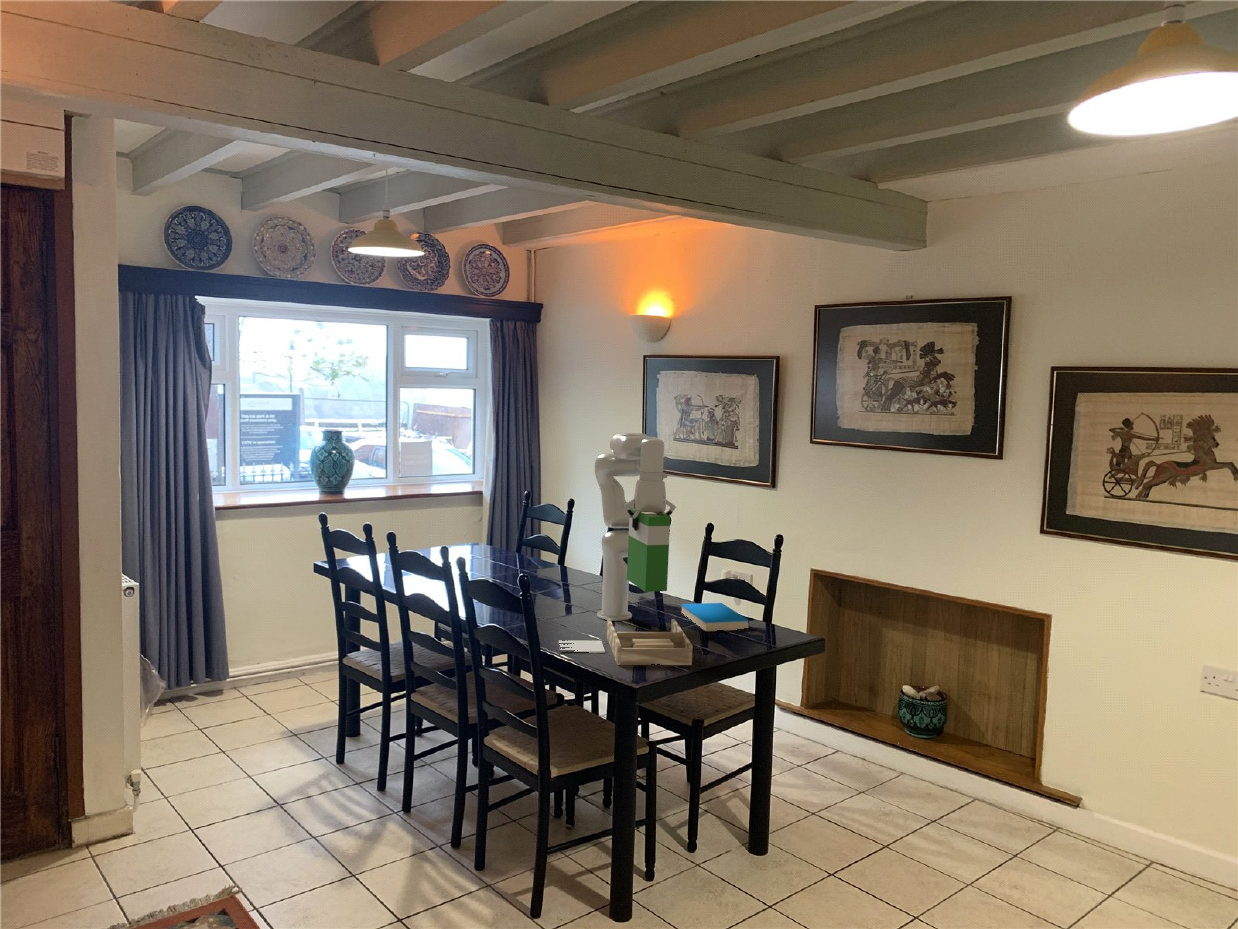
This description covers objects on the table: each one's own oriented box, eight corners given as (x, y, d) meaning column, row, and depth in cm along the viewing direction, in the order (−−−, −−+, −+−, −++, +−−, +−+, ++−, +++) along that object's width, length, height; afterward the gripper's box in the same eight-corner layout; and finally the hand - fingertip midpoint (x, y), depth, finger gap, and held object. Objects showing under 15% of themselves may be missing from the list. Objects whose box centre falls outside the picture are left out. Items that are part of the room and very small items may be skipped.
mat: (558, 641, 296) (558, 640, 296) (601, 642, 297) (601, 640, 297) (560, 653, 284) (560, 651, 284) (604, 653, 285) (604, 651, 285)
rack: (606, 636, 304) (607, 615, 304) (673, 636, 307) (674, 616, 307) (617, 665, 274) (618, 642, 273) (691, 665, 277) (692, 642, 276)
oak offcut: (631, 648, 283) (632, 639, 283) (668, 648, 285) (669, 638, 285) (635, 654, 277) (635, 644, 277) (673, 653, 279) (673, 644, 279)
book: (705, 621, 315) (680, 603, 338) (704, 633, 315) (679, 614, 339) (750, 619, 320) (722, 601, 343) (749, 631, 320) (722, 612, 344)
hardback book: (626, 579, 302) (629, 508, 300) (647, 578, 305) (650, 508, 303) (645, 591, 286) (648, 516, 284) (666, 591, 288) (670, 516, 286)
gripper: (675, 476, 297) (673, 528, 298) (623, 475, 295) (620, 527, 296) (679, 479, 289) (677, 532, 291) (625, 477, 287) (623, 531, 289)
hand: (648, 530), depth 294 cm, fingers closed on hardback book, 8 cm apart
